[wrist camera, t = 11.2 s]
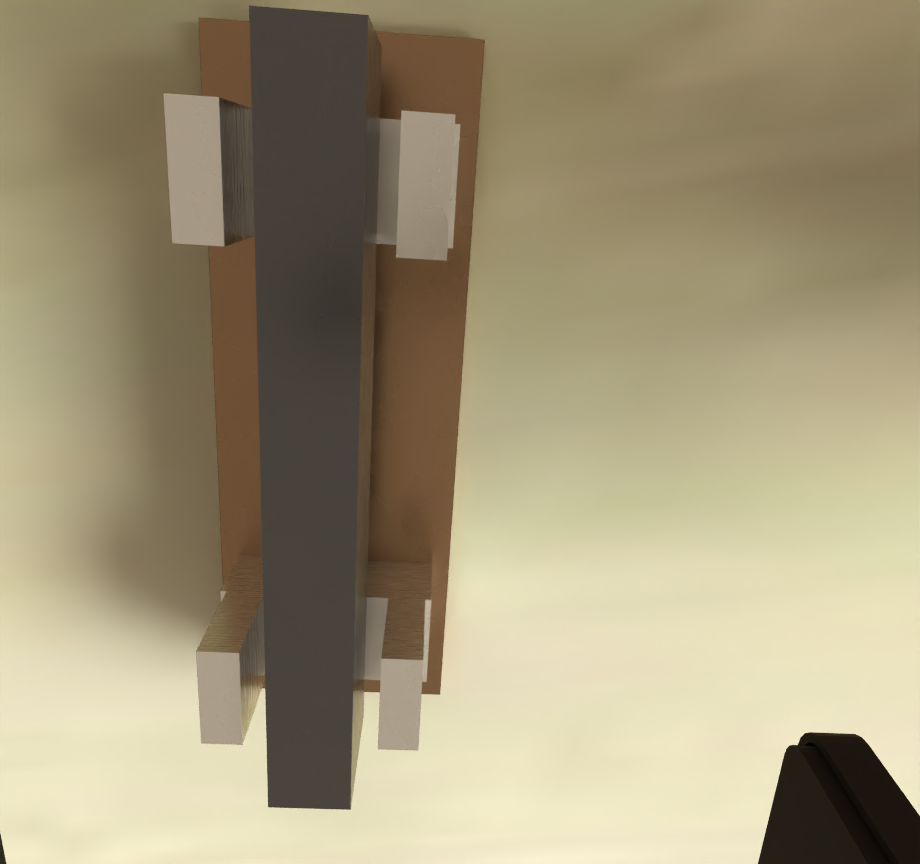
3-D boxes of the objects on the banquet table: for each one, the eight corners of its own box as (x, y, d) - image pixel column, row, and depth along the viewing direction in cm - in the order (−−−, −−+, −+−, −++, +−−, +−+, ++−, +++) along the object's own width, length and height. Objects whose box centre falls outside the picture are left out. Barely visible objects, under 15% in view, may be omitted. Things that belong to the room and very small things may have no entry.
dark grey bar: (382, 46, 24) (367, 15, 19) (363, 716, 32) (350, 809, 27) (287, 39, 24) (249, 6, 19) (293, 713, 32) (268, 807, 27)
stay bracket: (483, 44, 27) (500, -6, 20) (439, 680, 36) (440, 813, 29) (207, 22, 27) (116, -36, 19) (233, 673, 36) (178, 805, 28)
